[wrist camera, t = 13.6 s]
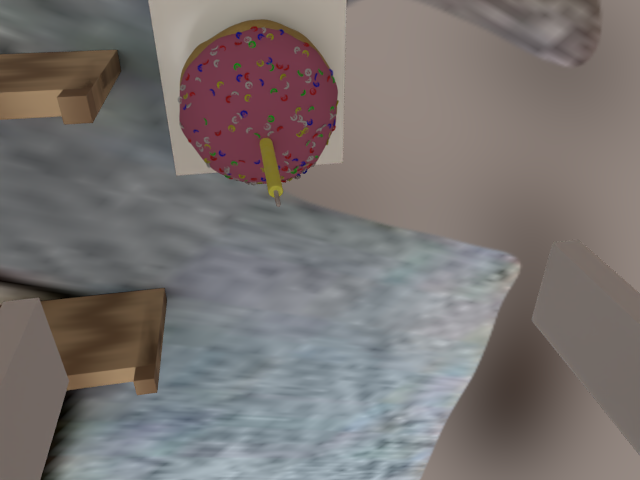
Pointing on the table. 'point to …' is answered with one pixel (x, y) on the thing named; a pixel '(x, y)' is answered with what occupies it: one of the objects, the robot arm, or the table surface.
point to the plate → (221, 13)
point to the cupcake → (258, 103)
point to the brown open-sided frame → (99, 310)
